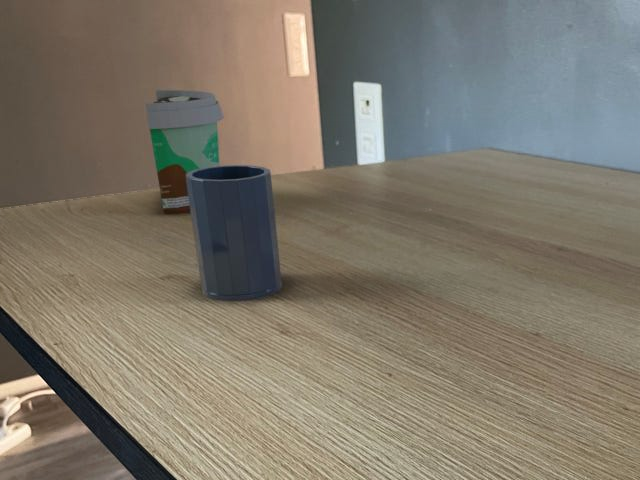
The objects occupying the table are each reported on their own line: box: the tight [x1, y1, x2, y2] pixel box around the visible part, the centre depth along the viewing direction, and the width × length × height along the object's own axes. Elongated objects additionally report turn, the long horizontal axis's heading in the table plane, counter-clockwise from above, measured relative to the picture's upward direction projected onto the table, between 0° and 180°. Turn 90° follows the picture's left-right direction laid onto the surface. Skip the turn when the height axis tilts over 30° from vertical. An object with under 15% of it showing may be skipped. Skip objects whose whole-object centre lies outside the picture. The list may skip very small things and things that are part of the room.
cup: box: [186, 164, 283, 302], centre depth 53 cm, size 5×5×8 cm
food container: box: [145, 89, 225, 216], centre depth 75 cm, size 12×6×10 cm, turn 16°
